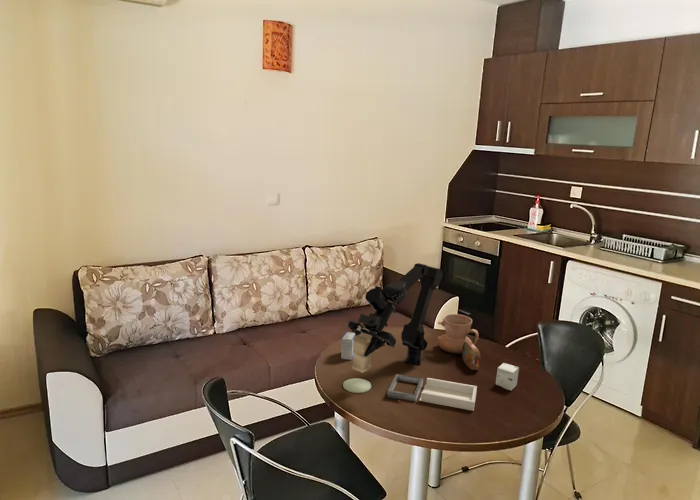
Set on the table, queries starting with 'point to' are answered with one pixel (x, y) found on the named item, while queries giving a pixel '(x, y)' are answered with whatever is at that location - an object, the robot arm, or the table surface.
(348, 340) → the medicine box
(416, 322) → the robot arm
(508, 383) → the skincare box
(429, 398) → the cream rectangular tray
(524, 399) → the table surface
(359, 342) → the maple block
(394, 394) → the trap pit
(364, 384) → the pad
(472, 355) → the tin
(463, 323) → the ceramic jug
